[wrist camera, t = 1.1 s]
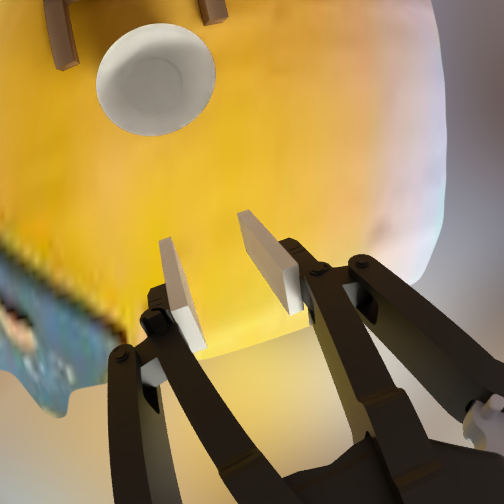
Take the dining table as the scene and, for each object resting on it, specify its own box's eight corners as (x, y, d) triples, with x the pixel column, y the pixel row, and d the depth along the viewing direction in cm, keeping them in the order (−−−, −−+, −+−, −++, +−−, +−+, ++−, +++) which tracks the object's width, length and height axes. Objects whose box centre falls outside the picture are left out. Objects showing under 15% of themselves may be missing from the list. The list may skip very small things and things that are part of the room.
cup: (112, 50, 25) (97, 26, 15) (195, 46, 28) (221, 22, 18) (111, 129, 29) (94, 144, 19) (192, 123, 32) (215, 135, 22)
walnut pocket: (63, 71, 24) (56, 68, 21) (49, -1, 18) (42, -9, 16) (221, 22, 27) (228, 16, 24) (204, -46, 22) (210, -56, 19)
